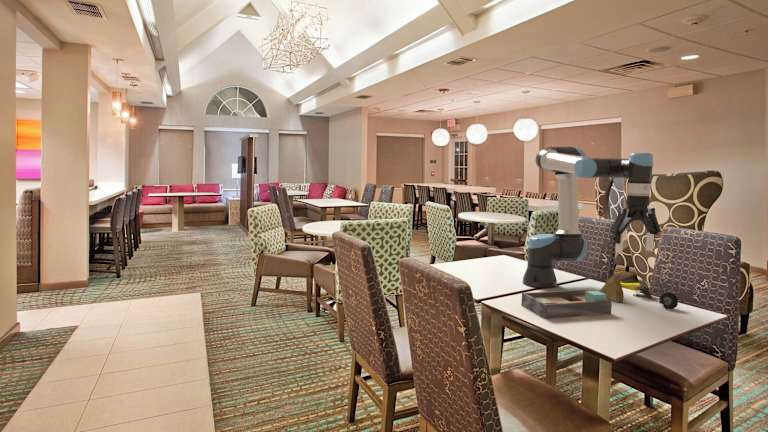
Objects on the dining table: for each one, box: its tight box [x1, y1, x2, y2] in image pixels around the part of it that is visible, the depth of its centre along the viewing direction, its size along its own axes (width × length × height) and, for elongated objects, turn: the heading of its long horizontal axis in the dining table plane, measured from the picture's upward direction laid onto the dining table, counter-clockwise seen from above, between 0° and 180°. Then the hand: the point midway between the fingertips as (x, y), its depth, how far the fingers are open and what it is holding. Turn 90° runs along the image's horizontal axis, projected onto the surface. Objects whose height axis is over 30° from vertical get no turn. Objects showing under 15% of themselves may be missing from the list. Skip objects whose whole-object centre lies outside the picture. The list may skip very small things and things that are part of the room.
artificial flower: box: [631, 278, 679, 310], centre depth 187 cm, size 9×22×10 cm, turn 176°
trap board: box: [520, 289, 613, 319], centre depth 173 cm, size 16×28×5 cm, turn 103°
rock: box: [599, 274, 625, 303], centre depth 188 cm, size 11×9×10 cm
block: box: [585, 290, 607, 302], centre depth 172 cm, size 5×5×4 cm
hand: (634, 251), depth 168 cm, fingers open, 13 cm apart
